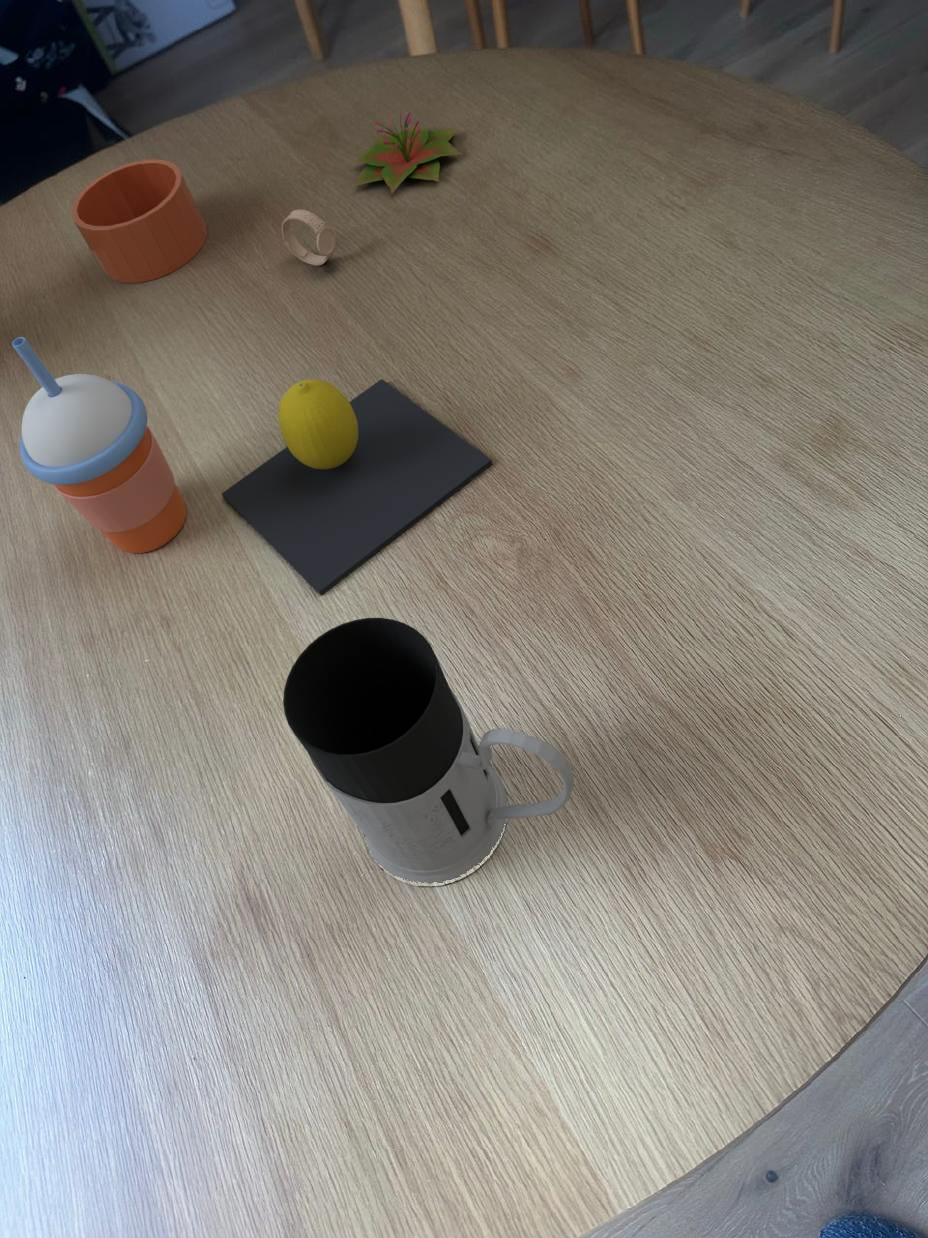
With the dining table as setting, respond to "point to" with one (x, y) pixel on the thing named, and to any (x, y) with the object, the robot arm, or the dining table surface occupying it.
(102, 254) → the cup
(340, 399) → the lemon
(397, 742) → the gray and black mug
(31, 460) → the cup with straw
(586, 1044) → the dining table surface
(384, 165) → the lily flower
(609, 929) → the dining table surface
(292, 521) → the mat
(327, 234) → the wristwatch
